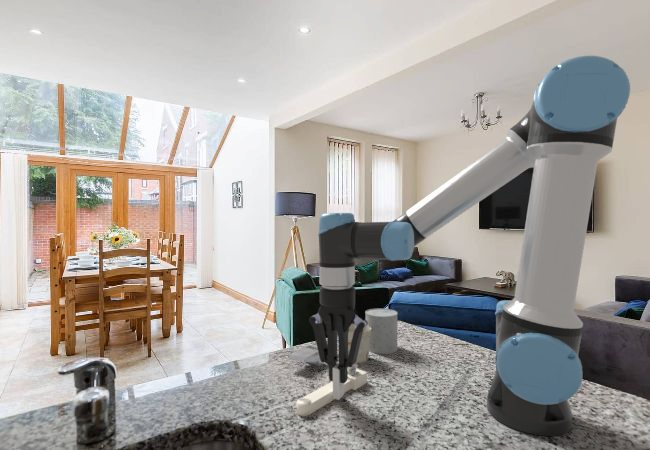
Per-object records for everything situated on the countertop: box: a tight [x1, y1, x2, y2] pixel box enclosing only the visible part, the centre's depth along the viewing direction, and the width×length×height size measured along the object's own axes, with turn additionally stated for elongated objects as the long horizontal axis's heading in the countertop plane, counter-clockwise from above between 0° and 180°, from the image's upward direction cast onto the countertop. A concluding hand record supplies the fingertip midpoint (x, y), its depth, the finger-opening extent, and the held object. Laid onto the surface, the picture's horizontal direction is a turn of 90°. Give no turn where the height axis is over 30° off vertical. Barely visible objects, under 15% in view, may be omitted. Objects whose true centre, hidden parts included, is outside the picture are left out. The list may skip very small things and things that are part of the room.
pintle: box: [348, 363, 359, 376], centre depth 86 cm, size 3×3×5 cm
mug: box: [326, 323, 371, 364], centre depth 102 cm, size 8×13×10 cm, turn 78°
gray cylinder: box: [364, 307, 399, 355], centre depth 109 cm, size 10×10×12 cm
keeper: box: [288, 344, 325, 367], centre depth 96 cm, size 5×8×5 cm, turn 144°
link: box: [295, 368, 368, 417], centre depth 80 cm, size 20×5×2 cm, turn 140°
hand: (338, 396), depth 78 cm, fingers closed
